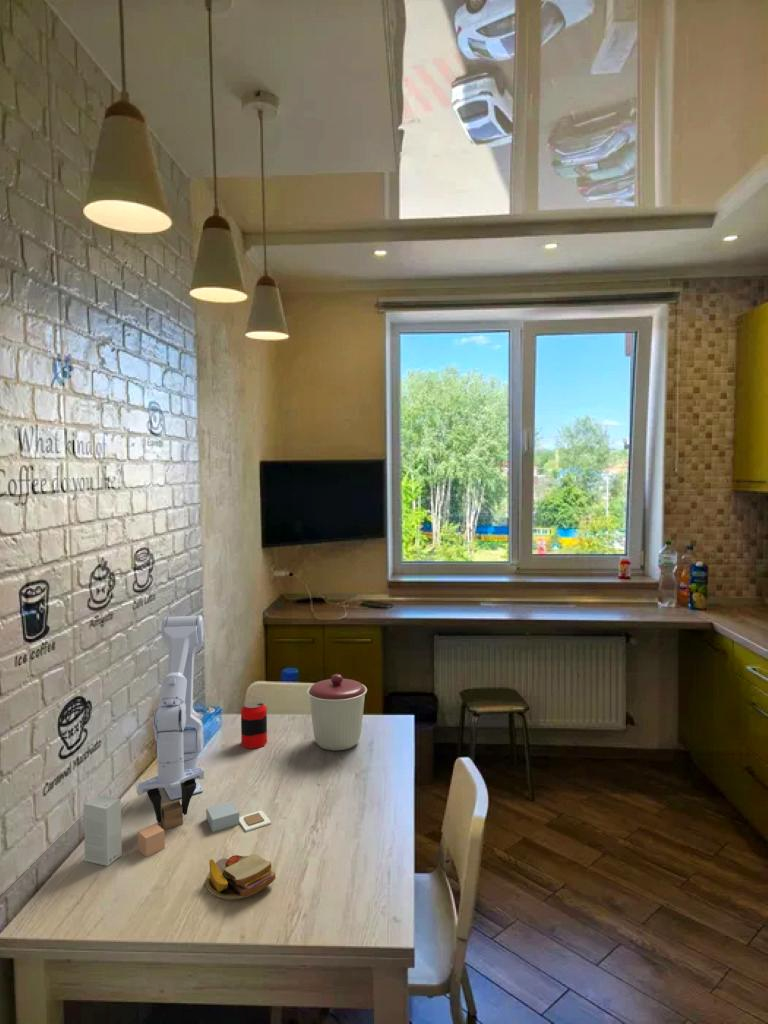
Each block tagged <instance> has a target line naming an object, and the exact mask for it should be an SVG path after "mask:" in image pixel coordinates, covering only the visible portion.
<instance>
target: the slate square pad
mask: <svg viewBox="0 0 768 1024" xmlns="http://www.w3.org/2000/svg"><path fill="white" fill-rule="evenodd" d="M205 808H206V809H205V814H206V817H205V818H206V821H207V824H208V825H209V828H210V830H211V831H212V832H213V833H215V832H218V831H221V830H223V829H228V828H231V827H234V826H238V825H240V823H239V817H240V811H239V809H238V808H237V807H236V805H235V804H234V802H233V800H230V801H225V802H222V803H219V804H214V805H212V806H207V807H205Z"/></svg>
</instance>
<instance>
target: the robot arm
mask: <svg viewBox="0 0 768 1024" xmlns="http://www.w3.org/2000/svg"><path fill="white" fill-rule="evenodd" d="M204 622H205V621H204V617H203V616H202V615H201V614H199V615H185V616H182V615H181V616H179V615H178V616H164V618H162V622H161V638H162V639H163V642H164V645H165V646H166V648H167V649H168V662H167V663H168V668H167V669H168V670H167V674H166V675H165V676H164V677H163V678H162V680H161V685H160V691H159V698H158V699H159V700H158V708H155V710H154V713H153V716H152V717H153V719H152V725H153V726H152V728H153V731H154V732H153V733H154V739H155V742H156V759H157V761H156V763H157V764H156V765H157V770H156V771H157V775H155V776H154V777H152V778H149V779H147V780H144V781H142V782H138V783H136V794H137V796H138V797H139V796H142V795H144V793H147V797H148V798H149V800H150V802H151V804H152V806H153V809H154V814H155V820H156V822H157V824H158V823H161V804H162V794H161V793H160V791H161V790H162V789H164V790H165V792H166V793H167V796H168V797H169V799H170V801H174V800H178V799H181V805H182V807H183V816H186V815H188V810H189V805H190V801H191V799H192V797H193V795H194V794H199V793H202V792H204V788H203V787H202V786H201V783H200V782H199V780H204V779H205V770H204V769H203V767H199V763H198V762H199V761H198V760H199V754H201V753H202V751H203V749H204V743H205V742H204V738H205V733H204V723H203V721H202V720H201V719H200V718H198V717H197V716H196V715H194V714H193V706H194V705H193V703H194V702H193V700H194V699H193V698H194V677H195V676H194V672H195V670H194V668H195V655H196V652H197V649H200V648H202V647H203V645H204V635H205V633H204V631H205V623H204ZM189 727H190V728H189ZM160 789H161V790H160Z"/></svg>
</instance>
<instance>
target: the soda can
mask: <svg viewBox="0 0 768 1024" xmlns="http://www.w3.org/2000/svg"><path fill="white" fill-rule="evenodd" d="M267 710H268V709H267V706H266V705H265V703H263V702H262V701H258V700H253V701H248V702H245V703H244V705H243V706H242V707H241V709H240V718H241V719H240V725H241V726H240V730H241V731H240V732H241V734H240V735H241V736H240V737H241V739H240V740H241V745H242V747H243V748H245V749H249V750H251V749H258V748H259V749H260V748H262V747H265V745H266V744H267V743H268V717H267V716H268V714H267Z"/></svg>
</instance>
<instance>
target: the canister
mask: <svg viewBox="0 0 768 1024" xmlns="http://www.w3.org/2000/svg"><path fill="white" fill-rule="evenodd" d="M367 692H368V688H367V687H366V685H364V684H363V683H361V682H360V681H357V680H354V679H349V678H343V676H342V675H341V673H340V674H339V673H335V674H332V675H331V678H329V679H323V680H320V681H317V682H315V683H314V684H313V685H310V686H309V687H308V688H307V689H306V694H307V696H308V697H309V707H310V714H311V723H312V724H311V725H312V729H313V736H314V740H315V742H316V744H317V746H318V747H320V748H321V749H324V750H328V751H335V752H336V751H345V750H348V749H351V748H354V746H356V745H357V744H358V743H359V741H360V738H361V733H362V728H363V717H364V707H365V697H366V694H367Z"/></svg>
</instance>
